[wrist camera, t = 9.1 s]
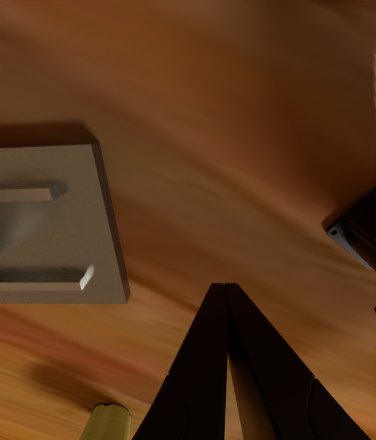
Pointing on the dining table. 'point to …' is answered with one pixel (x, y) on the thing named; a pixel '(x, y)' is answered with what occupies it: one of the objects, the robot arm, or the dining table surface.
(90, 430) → the plant pot
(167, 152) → the dining table surface
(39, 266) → the knob mount
